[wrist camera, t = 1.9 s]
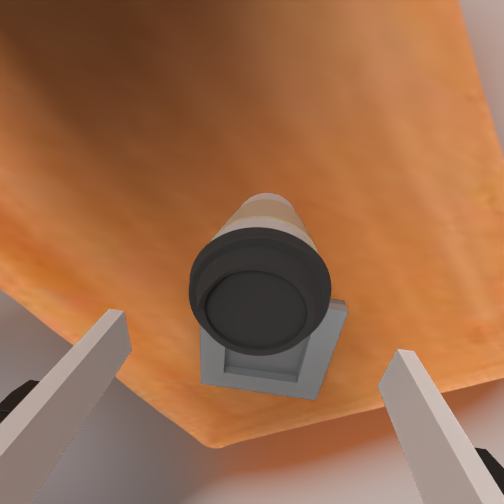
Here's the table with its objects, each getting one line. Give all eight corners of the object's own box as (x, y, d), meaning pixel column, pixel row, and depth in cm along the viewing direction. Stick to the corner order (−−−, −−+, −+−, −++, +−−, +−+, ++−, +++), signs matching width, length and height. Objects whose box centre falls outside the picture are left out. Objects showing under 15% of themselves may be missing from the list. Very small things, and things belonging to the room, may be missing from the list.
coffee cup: (325, 212, 25) (379, 305, 12) (276, 272, 29) (277, 392, 16) (252, 164, 24) (221, 210, 10) (211, 234, 28) (152, 333, 14)
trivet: (203, 282, 31) (199, 292, 29) (344, 300, 30) (348, 311, 28) (204, 372, 39) (200, 383, 37) (313, 387, 39) (315, 400, 37)
